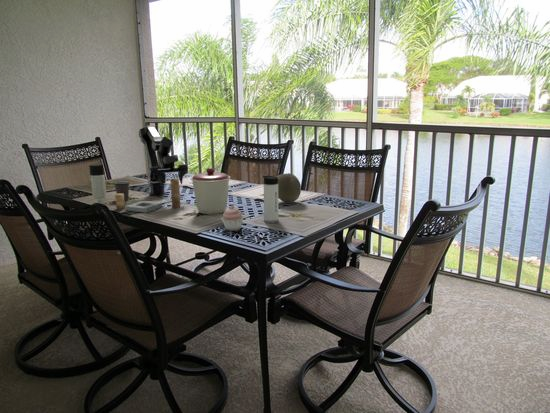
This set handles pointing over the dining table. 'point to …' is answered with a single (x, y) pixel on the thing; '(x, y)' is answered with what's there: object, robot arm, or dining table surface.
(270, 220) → the travel mug
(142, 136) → the robot arm
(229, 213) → the cupcake
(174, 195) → the tall pin
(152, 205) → the hole plate
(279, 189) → the cantaloupe
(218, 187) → the canister
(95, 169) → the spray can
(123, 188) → the coffee cup
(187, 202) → the dining table surface
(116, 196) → the short pin
